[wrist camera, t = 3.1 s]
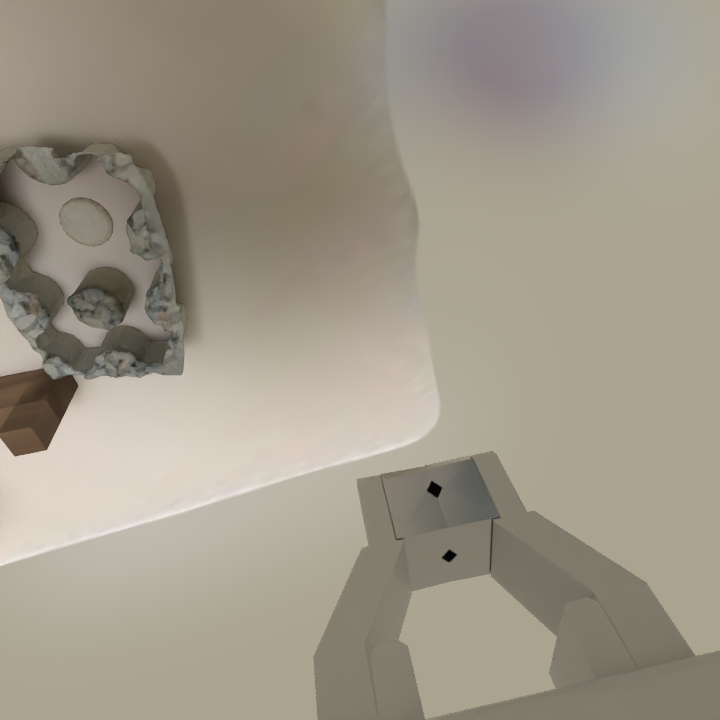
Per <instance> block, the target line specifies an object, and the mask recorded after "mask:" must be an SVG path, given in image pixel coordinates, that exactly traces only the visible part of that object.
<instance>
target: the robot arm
mask: <svg viewBox="0 0 720 720" xmlns="http://www.w3.org/2000/svg"><path fill="white" fill-rule="evenodd" d="M357 487H358V493H359V498H360V503H361V509H362V514H363V519H364V524H365V530H366V534H367V540H368V545H369V546H367V547H363V548H362V549H361V551H360V553H359V555H358V558H357V560H356V562H355V565H354V567H353V569H352V571H351V573H350V576H349V578H348V580H347V582H346V585H345V587H344V589H343V591H342V594H341V596H340V598H339V600H338V603H337V605H336V607H335V609H334V611H333V614H332V616H331V618H330V620H329V623H328V625H327V627H326V629H325V632H324V634H323V636H322V638H321V641H320V643H319V645H318V648H317V650H316V652H315V654H314V671H315V686H316V701H317V717H318V720H720V650H719V651H715V652H711V653H707V654H702V655H698V656H695V654H694V653H693V651H692V650H691V648H690V647H689V645H688V644H687V643H686V641H685V640H684V638H683V637H682V635H681V634H680V632H679V631H678V629H677V628H676V626H675V625H674V623H673V622H672V620H671V619H670V617H669V616H668V614H667V613H666V611H665V610H664V608H663V607H662V605H661V604H660V602H659V601H658V599H657V598H656V596H655V595H654V593H653V592H652V590H651V589H650V587H649V586H648V584H647V583H646V582H645V581H643V580H642V579H640V578H639V577H637V576H635V575H634V574H632V573H631V572H629V571H628V570H626V569H624V568H623V567H621V566H620V565H618V564H617V563H615V562H613V561H612V560H610V559H609V558H607V557H606V556H604V555H602V554H601V553H599V552H598V551H596V550H595V549H593V548H592V547H590V546H588V545H587V544H585V543H584V542H582V541H581V540H579V539H577V538H576V537H574V536H573V535H571V534H570V533H568V532H566V531H565V530H563V529H562V528H560V527H559V526H557V525H556V524H554V523H552V522H551V521H549V520H548V519H546V518H545V517H543V516H542V515H540V514H538V513H537V512H535V511H530V512H527V511H526V509H525V507H524V505H523V503H522V501H521V500H520V498H519V496H518V494H517V492H516V490H515V488H514V486H513V484H512V483H511V481H510V479H509V477H508V475H507V473H506V471H505V469H504V468H503V466H502V464H501V462H500V460H499V458H498V456H497V454H495V453H494V452H493V451H491V452H486V453H481V454H476V455H472V456H466V457H461V458H456V459H452V460H447V461H443V462H438V463H434V464H429V465H425V466H423V467H418V468H413V469H407V470H401V471H396V472H390V473H385V474H380V475H375V476H370V477H365V478H359V479H357ZM486 574H491V577H492V578H494V579H495V580H496V581H497V582H498V583H499V584H500V585H501V586H502V587H503V588H504V589H505V590H507V591H508V592H509V593H510V594H511V595H512V596H513V597H514V598H515V599H516V600H517V601H519V602H520V603H521V604H522V605H523V606H524V607H525V608H526V609H527V610H528V611H529V612H531V613H532V614H533V615H534V616H535V617H536V618H537V619H538V620H540V622H542V623H543V624H544V625H545V626H546V627H547V628H548V629H549V630H550V631H551V632H552V633H554V634H555V635H556V636H557V640H556V644H555V649H554V653H553V658H552V662H551V666H550V671H549V674H550V676H551V679H552V681H553V683H554V686H555V688H556V689H553V690H548V691H544V692H540V693H536V694H531V695H528V696H523V697H518V698H514V699H510V700H506V701H501V702H497V703H493V704H489V705H485V706H480V707H476V708H472V709H467V710H463V711H459V712H454V713H450V714H446V715H442V716H438V717H433V718H429V719H425V717H424V713H423V709H422V704H421V700H420V696H419V692H418V687H417V683H416V679H415V674H414V670H413V666H412V662H411V657H410V653H409V649H408V646H407V645H405V644H404V643H402V642H400V641H399V636H400V633H401V629H402V626H403V622H404V619H405V615H406V612H407V608H408V605H409V601H410V598H411V594H412V593H411V591H414V590H418V589H422V588H426V587H430V586H434V585H438V584H442V583H446V582H450V581H455V580H460V579H466V578H471V577H476V576H481V575H486Z"/></svg>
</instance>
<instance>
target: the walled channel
mask: <svg viewBox="0 0 720 720" xmlns="http://www.w3.org/2000/svg"><path fill="white" fill-rule="evenodd" d="M77 387H78V385H77V383H76V381H75V380H74V378H73V376H72V375H66V376H64V377H62V378H60V379H52V378H51V376H50V375H49V374H47V373H46V372H45V370H44V369H41V370H35V371H30V372H25V373H20V374H15V375H10V376H4V377H0V438H1V439H2V441H3V442H4V443H5V444H6V446H7V447H8V448H9V450H10V451H11V452H12V453H13V455H14V456H19V455H24V454H29V453H34V452H39V451H44V450H47V449H48V447H49V444H50V442H51V440H52V438H53V436H54V434H55V432H56V430H57V428H58V426H59V424H60V422H61V420H62V418H63V416H64V414H65V412H66V410H67V408H68V406H69V404H70V402H71V400H72V398H73V396H74V393H75V391H76V389H77Z"/></svg>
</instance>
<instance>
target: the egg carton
mask: <svg viewBox="0 0 720 720" xmlns="http://www.w3.org/2000/svg"><path fill="white" fill-rule="evenodd" d="M91 154H93V155H96V156H97V161H98V162H99V163H101V164H102V166H103V167H104V168H105V170H106V172H107V173H108V174H109V175H111V176H112V177H114V178H117V179H120V180H122V181H125V182H127V183H128V184H130V185H131V186H133V187H134V188H135V189H136V190H137V191H138V193H139V194H140V196H141V200H140V202H139V204H138V205H137V207H136V208H135V210H134V211H133V213H132V215H131V216H130V217H129V219H128V220H127V227H126V230H127V234H128V237H129V240H130V243H131V249H130V251H131V252H132V253H135V254H138V255H139V256H140V257H142V258H143V259H145V260H151V259H161V261H162V264H161V266H160V268H159V269H158V271H157V272H156V274H155V277H154V280H153V282H152V285H151V287H150V289H149V290H148V292H147V293H146V304H145V310H146V313H147V315H148V316H149V318H150V319H151V320H152V321H153V323H154V324H156V325H161V326H163V329H164V331H171V332H170V336H169V340H167V341H151V340H149V339H148V338H147V336H146V335H145V334H144V333H142V332H141V331H140V330H138V329H136V328H134V327H130V326H118V327H116V326H117V325H118V324H119V323H121V322H122V321H123V319H124V317H125V315H126V312H127V310H128V308H129V305H130V303H131V301H132V298H133V295H134V288H133V285H132V283H131V281H130V280H129V279H128V278H127V277H126V276H125V275H124V274H123V273H121V272H119V271H118V270H116V269H114V268H109V267H100V268H96V269H93V270H91V271H90V272H89V273H88V274H87V276H86V277H85V279H84V280H83V281H82V283H81V284H80V285H79V287H78V288H77V290H76V291H75V292H74V294H72V295H71V296H70V297H68V300H67V302H68V305H70V306H71V307H72V309H73V311H74V313H75V315H76V317H77V319H78V320H79V321H81V322H83V323H85V324H87V325H89V326H91V327H95V328H102V329H106V330H110V331H109V332H108V333H107V335H106V337H105V339H104V341H103V344H102V346H101V347H96V348H86V347H85V346H84V345H83V344H82V343H81V342H80V341H79V340H78V339H77V338H76V337H74V336H73V335H70V334H68V333H64V332H58V331H56V330H55V329H54V327H53V326H52V324H51V321H52V320H53V318H54V317H55V315H56V314H57V312H58V311H59V309H60V307H61V306H62V304H63V302H64V301H63V292H62V290H61V289H60V287H59V286H58V285H57V284H56V282H54V281H53V280H52V279H51V278H49V277H47V276H44V275H42V274H39V273H34V272H33V271H32V269H31V267H30V266H29V264H28V263H27V261H26V260H25V258H24V257H23V256H24V255H25V254H26V253H27V252H28V251H29V250H30V249H31V248H32V246H33V245H34V243H35V242H36V239H37V235H38V232H37V228H36V225H35V224H34V222H33V220H32V219H31V218H30V217H29V215H28V214H27V213H25V212H24V211H23V210H22V209H20V208H18V207H16V206H14V205H11V204H9V203H4V202H1V201H0V298H1V299H2V301H3V304H4V307H5V310H6V313H7V316H8V317H9V319H10V320H11V321H12V322H13V324H14V325H15V326H16V328H17V329H18V330H19V332H20V333H21V334H22V335H23V336H24V337H25V338H26V339H27V340H28V341H29V343H30V345H31V347H32V348H33V349H34V350H35V351H36V352H38V353H40V354H41V355H42V357H43V368H44V370H45V372H46V373H47V374H49V375H50V376H51V378H52V379H60V378H62V377H64V376H66V375H72V374H80V375H84V376H85V379H93V378H96V377H99V376H111V377H115V378H117V377H123V376H130V377H139V378H141V377H143V376H145V375H148V374H150V373H158V374H162V375H182V373H183V367H184V341H183V336H184V330H185V328H186V324H187V313H186V309H185V306H184V305H183V304H180V303H176V294H175V284H174V280H173V275H172V269H171V265H172V263H173V255H172V252H171V247H170V244H169V243H168V241H167V237H166V234H165V231H164V227H163V224H162V221H161V218H160V215H159V212H158V209H157V206H156V203H155V200H154V195H155V193H156V185H155V181H154V177H153V174H152V171H151V170H150V169H147V168H140V167H138V166H135V165H134V163H133V160H132V157H131V155H129V154H126V153H120V151H119V150H118V148H117V147H116V146H115V145H113V144H111V143H109V144H101V143H93V144H91V145H89V146H88V147H87V148H86V149H85V150H83V151H82V152H76V153H70V154H67V155H66V156H64V157H61V158H59V157H58V155H57V154H56V152H55V151H54V149H53V148H48V147H29V146H21V147H14V146H13V147H7V148H5V149H4V150H2V151H1V152H0V173H1V172H2V171H3V170H4V169H5V167H6V164H7V161H8V160H9V159H10V158H13V159H15V161H16V163H17V164H18V166H19V168H20V169H22V170H23V171H24V172H25V173H26V174H27V175H28V176H29V177H31V178H33V179H35V180H37V181H39V182H42V183H46V184H50V185H60V184H65V183H67V182H68V181H70V180H72V179H73V178H74V177H75V176H76V175H77V174H78V173H79V172H80V171H81V170H82V169H83V168H84V167H85V166H86V165H87V164H88V162H89V160H90V155H91ZM59 215H60V223H61V225H62V226H63V230H64V231H66V234H67V235H69V236H70V237H71V238H72V239H73V240H75V241H77V242H78V243H81V244H84V245H87V246H97V245H101V244H103V243H104V242H106V241H108V240H109V238H110V236H111V234H112V230H113V222H112V219H111V217H110V215H109V214H108V212H107V211H106V210H105V209H104V208H103V207H102V206H101V205H99V204H98V203H96V202H95V201H93V200H90V199H87V198H74V199H71V200H69V202H67V203H65V204H64V205H63V206H62V209H61V211H60V213H59ZM114 327H115V328H114Z"/></svg>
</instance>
